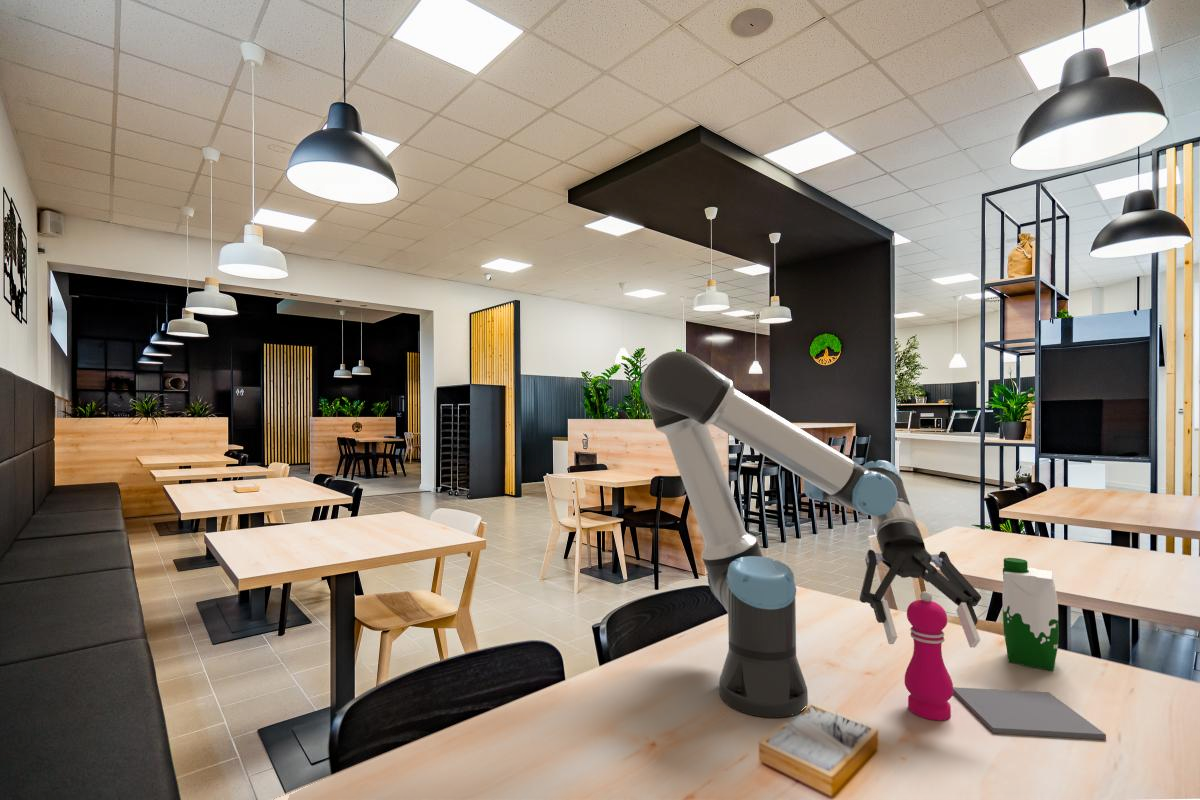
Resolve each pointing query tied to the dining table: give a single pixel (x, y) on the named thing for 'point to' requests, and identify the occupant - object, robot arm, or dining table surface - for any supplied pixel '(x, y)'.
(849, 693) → the dining table surface
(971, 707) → the rubber mat
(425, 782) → the dining table surface
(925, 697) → the pepper mill
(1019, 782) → the dining table surface
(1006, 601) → the milk carton
